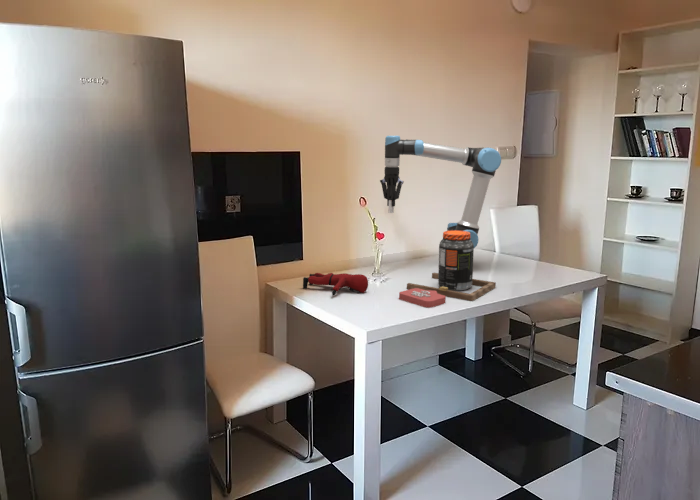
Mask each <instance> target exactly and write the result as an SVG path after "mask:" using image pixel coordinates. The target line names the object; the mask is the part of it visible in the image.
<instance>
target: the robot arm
mask: <svg viewBox="0 0 700 500" xmlns="http://www.w3.org/2000/svg"><path fill="white" fill-rule="evenodd" d="M401 155H402V156H403V155H405V156H407V155H408V156H416V157H418V156H419V157H423V158H429V159H436V160H442V161H447V162H452V163H453V162H454V163H460V164H462V166H467V167H471V168H472V169H471V173H472V175H473V176H472V180H471V184H470V188H469V191H468V195H467V198H466V201H465V204H464V209H463V212H462V217H461V220H459V221H457V222H448V223H447V227H446V231H452V230H456V231H467V232H470V236H471V241H472V242H473V245H474V249H475V248H476V247H478V244H479V235H478V234H479V230H480V227H479V223H478V222H479V220H480V216H481V213H482V210H483V207H484V202H485V199H486V195H487V193H488V192H487V191H488V190H489V189H488V188H489V186H490V185H489V184H490V181H491V179H493V178H495V174H496V171H497V170H498V169H499V168H500V166H501V163H502V156H501V154H500V152H499V151H498V150H497V149H495V148H492V147H468V146H466V147H464V148H462V147H456V146H450V145H443V144H437V143H431V142H426V141H425V142H424V141H423V140H422V139H401V136H400V135H387V136H385V142H384V166H385V167H384V177H383V178H382V179H379V182H380V184H381V187H382V189H381V190H382V193H383V199H385V200H387V201H386V202H387V205H386V206H387V207H388V214H393V213H394V211H395V210H394V208H395V207H396V200H399V199H400V196H401V195H400V194H401V190H402V186H403V184H404V182H405V181H404V180H401V179H400V178H401V177H400V162H401V160H400V159H401V158H400V157H401Z"/></svg>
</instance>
